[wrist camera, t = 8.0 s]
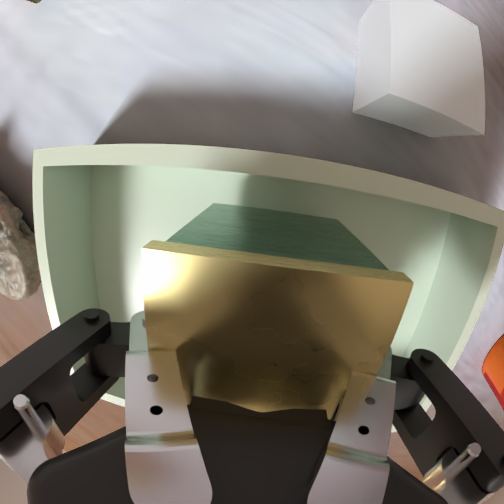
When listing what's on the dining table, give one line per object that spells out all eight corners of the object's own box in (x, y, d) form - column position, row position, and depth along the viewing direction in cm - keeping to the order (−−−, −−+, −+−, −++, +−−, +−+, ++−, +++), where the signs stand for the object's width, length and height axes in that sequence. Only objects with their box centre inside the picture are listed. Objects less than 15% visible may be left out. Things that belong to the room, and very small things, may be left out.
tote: (456, 196, 13) (510, 213, 9) (392, 381, 18) (413, 429, 13) (90, 148, 14) (33, 149, 9) (104, 345, 18) (71, 387, 13)
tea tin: (341, 216, 12) (414, 282, 5) (305, 363, 15) (318, 472, 8) (210, 199, 12) (141, 247, 5) (202, 350, 15) (167, 456, 8)
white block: (432, 50, 11) (477, 26, 6) (429, 137, 13) (484, 135, 8) (357, 22, 11) (387, -20, 6) (351, 113, 13) (388, 93, 8)
